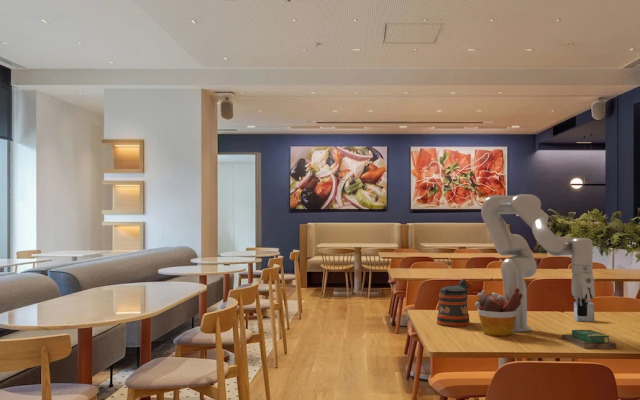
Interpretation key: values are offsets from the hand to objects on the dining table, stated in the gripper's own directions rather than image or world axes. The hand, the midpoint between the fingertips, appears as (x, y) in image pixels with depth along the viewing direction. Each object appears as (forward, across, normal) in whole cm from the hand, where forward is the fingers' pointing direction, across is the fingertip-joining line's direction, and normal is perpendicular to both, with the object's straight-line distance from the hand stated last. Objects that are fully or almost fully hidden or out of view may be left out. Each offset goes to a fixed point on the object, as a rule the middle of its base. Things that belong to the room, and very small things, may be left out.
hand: (582, 315), depth 221 cm
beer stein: (+11, +40, +39) cm, 57 cm away
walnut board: (+10, -4, 0) cm, 11 cm away
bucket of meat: (+11, +15, +28) cm, 34 cm away
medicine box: (+11, +44, -24) cm, 51 cm away
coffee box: (+7, +1, 0) cm, 7 cm away
